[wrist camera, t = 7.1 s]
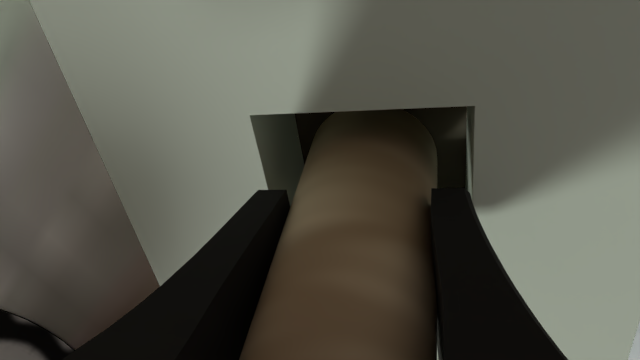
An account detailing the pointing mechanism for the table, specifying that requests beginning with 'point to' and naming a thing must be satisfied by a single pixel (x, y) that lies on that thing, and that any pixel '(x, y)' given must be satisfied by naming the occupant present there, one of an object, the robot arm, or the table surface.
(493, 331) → the robot arm
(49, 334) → the spotted tube
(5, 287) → the table surface
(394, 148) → the peg
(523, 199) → the wick holder
